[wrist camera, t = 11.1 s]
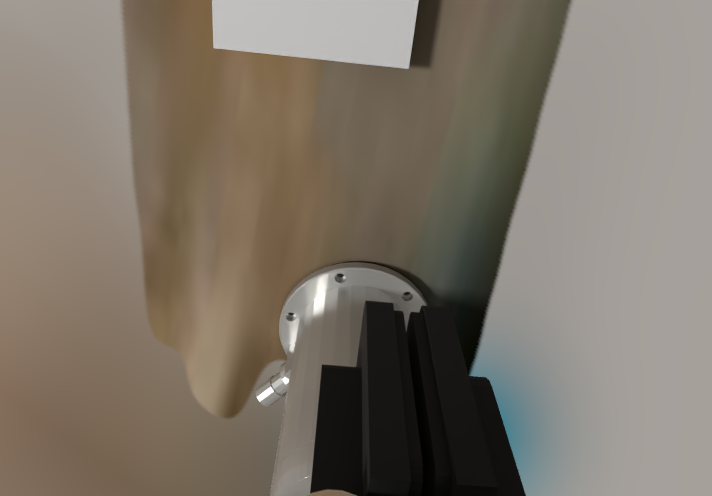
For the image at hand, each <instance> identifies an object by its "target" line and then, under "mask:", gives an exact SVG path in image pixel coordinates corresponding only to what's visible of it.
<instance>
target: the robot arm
mask: <svg viewBox="0 0 712 496" xmlns="http://www.w3.org/2000/svg"><path fill="white" fill-rule="evenodd" d="M339 273H341V274H339ZM279 335H280V340H281V344H282V347H283V349H284V351H285V353H286V355H287V356H288V357H287V361H286V362H285V363H283V364H282V365H281V367H280V372H279V373H278V374H276V375H275V376H272V377H271V378H269V379H268V380H267V381H265V382H264V383H263V384H261V385H260V386H259V387H257V388H256V396H257V398H258V400H259V402H260V403H262V404H263V405H265V406H271V405H272V404H274V403H275V402H277V401H278V400H279V399H281V398H282V397H283V396H285V395H286V393H287V396H286V402H285V408H284V414H283V420H282V426H281V432H280V438H279V444H278V451H277V456H276V462H275V469H274V474H273V480H272V487H271V494H270V496H526V495H525V492H524V489H523V485H522V482H521V479H520V476H519V473H518V469H517V466H516V463H515V460H514V457H513V453H512V450H511V447H510V444H509V441H508V437H507V434H506V431H505V427H504V425H503V421H502V418H501V415H500V411H499V408H498V405H497V402H496V399H495V396H494V392H493V389H492V386H491V384H490V381H489V380H488V379H487V378H485V377H473V376H469V375H468V372H467V368H466V364H465V360H464V356H463V353H462V349H461V345H460V341H459V337H458V334H457V330H456V326H455V322H454V318H453V315H452V311H451V309H450V308H447V307H436V306H428V305H427V302H426V300H425V299H424V297H423V295H422V293H421V292H420V291H419V290H418V289H417V287H416V286H415V285H414V284H413V283H412V282H411V281H409V280H408V279H407V278H405V277H404V276H402V275H401V274H399V273H397V272H395V271H393V270H391V269H389V268H386V267H383V266H379V265H376V264H371V263H361V262H351V263H340V264H336V265H331V266H327V267H325V268H322V269H320V270H318V271H315V272H313V273H312V274H310V275H309V276H307V277H306V278H304V279H303V280H301V281H300V282H299V283H298V284H297V285H296V286H295V287H294V288H293V289H292V291H291V292H290V294H289V295H288V297H287V298H286V300H285V303H284V306H283V308H282V311H281V316H280V321H279Z"/></svg>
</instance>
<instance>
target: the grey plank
mask: <svg viewBox="0 0 712 496" xmlns="http://www.w3.org/2000/svg"><path fill="white" fill-rule="evenodd" d="M418 2H419V0H212V10H213V44H214V48H218V49H228V50H237V51H246V52H256V53H265V54H274V55H284V56H293V57H302V58H312V59H321V60H331V61H340V62H349V63H359V64H368V65H377V66H387V67H396V68H405V69H409V64H410V57H411V50H412V43H413V36H414V29H415V22H416V16H417V9H418Z"/></svg>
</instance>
